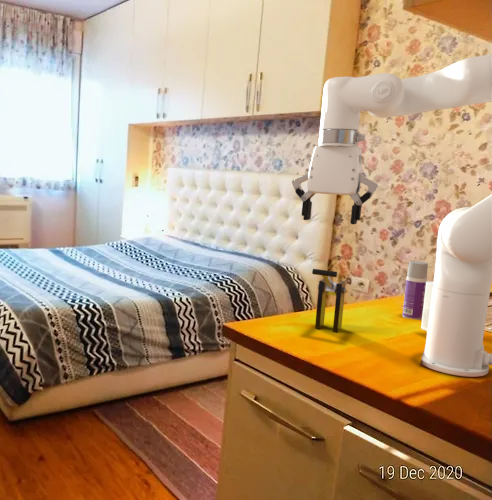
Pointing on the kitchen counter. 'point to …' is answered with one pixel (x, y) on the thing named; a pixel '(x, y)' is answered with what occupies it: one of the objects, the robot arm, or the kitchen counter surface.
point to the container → (415, 290)
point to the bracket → (338, 305)
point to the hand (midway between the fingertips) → (329, 221)
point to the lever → (328, 280)
